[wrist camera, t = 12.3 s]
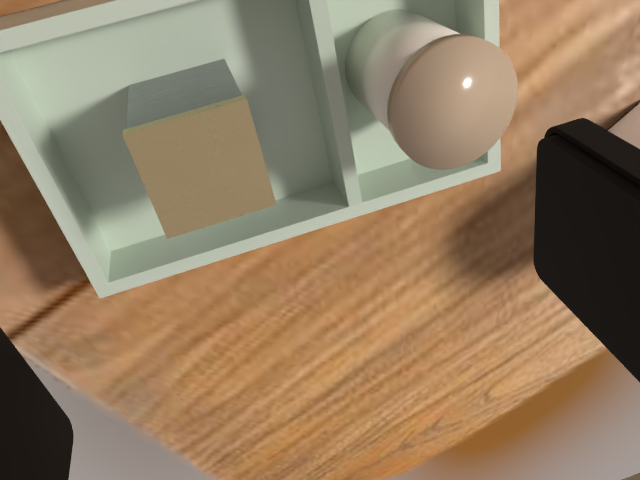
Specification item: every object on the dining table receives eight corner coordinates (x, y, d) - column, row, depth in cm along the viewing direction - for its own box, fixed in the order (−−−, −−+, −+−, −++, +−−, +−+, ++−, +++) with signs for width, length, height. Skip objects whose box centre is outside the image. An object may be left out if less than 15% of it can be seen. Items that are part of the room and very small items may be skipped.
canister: (438, -8, 30) (518, 21, 24) (446, 98, 33) (517, 148, 27) (332, 21, 29) (385, 59, 23) (351, 126, 33) (401, 185, 26)
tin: (225, 56, 29) (246, 99, 23) (252, 146, 32) (276, 205, 26) (126, 83, 28) (122, 135, 23) (162, 173, 31) (167, 239, 26)
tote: (457, -102, 29) (498, -100, 25) (468, 145, 37) (500, 170, 33) (-21, 22, 26) (-44, 41, 23) (103, 258, 34) (99, 298, 31)
